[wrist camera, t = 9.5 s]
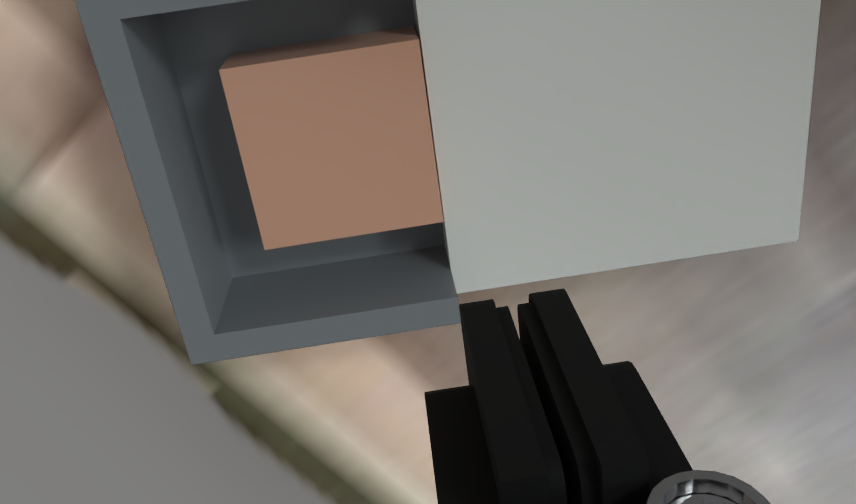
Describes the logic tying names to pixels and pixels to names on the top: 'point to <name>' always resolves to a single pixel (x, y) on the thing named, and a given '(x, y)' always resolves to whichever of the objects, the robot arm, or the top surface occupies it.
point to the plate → (614, 130)
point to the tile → (334, 136)
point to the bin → (228, 189)
